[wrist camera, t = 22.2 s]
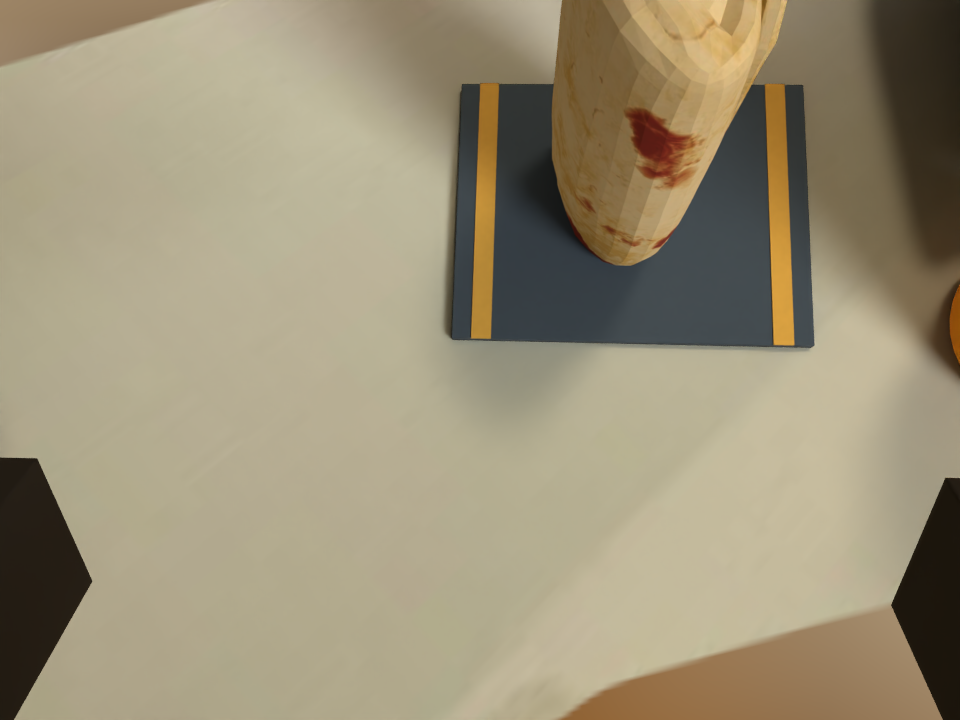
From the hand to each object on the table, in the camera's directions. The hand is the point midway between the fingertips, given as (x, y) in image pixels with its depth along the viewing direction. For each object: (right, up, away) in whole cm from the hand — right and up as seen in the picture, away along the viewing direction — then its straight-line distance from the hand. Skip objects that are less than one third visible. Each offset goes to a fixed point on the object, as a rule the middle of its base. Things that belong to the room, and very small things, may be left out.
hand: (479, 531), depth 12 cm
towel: (+8, +10, +29) cm, 32 cm away
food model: (+7, +11, +29) cm, 32 cm away
